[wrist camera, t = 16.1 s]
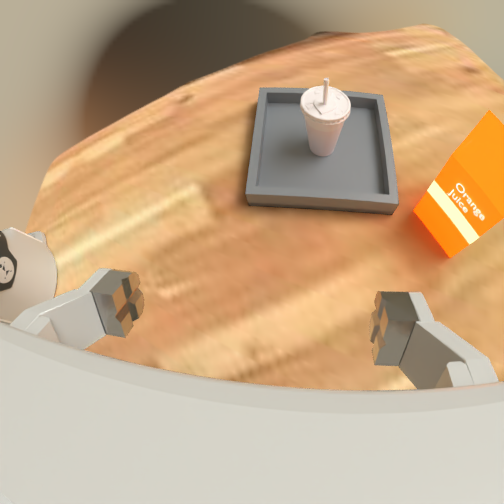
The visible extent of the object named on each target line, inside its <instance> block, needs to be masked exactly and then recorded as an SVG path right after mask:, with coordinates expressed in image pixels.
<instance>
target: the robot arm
mask: <svg viewBox="0 0 504 504" xmlns="http://www.w3.org/2000/svg"><path fill="white" fill-rule="evenodd" d="M56 284H57V268H56V263H55V259H54V257H53V254H52V253H51V251H50V250H49V248H48V247H47V243H46V237H45V234H44V233H43V232H40V231H37V232H33V233H29V234H26V233H23V232H21V231H19V230H17V229H15V228H12V227H10V228H9V229H5V230H2V231H0V504H504V381H501V382H499V380H498V378H497V376H496V374H495V371H494V369H493V367H492V365H491V362H490V360H489V358H487V357H486V356H485V355H483V354H482V353H481V352H479V351H478V350H477V349H475V348H474V347H473V346H471V345H470V344H469V343H467V342H466V341H465V340H463V339H462V338H461V337H459V336H458V335H457V334H455V333H454V332H452V331H451V330H450V329H448V328H447V327H446V326H444V325H443V324H441V323H440V322H435V320H434V318H433V316H432V314H431V311H430V309H429V307H428V305H427V302H426V300H425V298H424V296H423V294H422V293H421V292H384V291H378V292H377V294H376V298H375V307H376V310H375V311H374V312H372V314H371V319H370V326H369V336H370V341H371V342H372V343H373V344H374V345H373V348H372V354H373V360H374V365H384V366H399V368H400V369H401V370H402V371H403V373H404V374H405V375H406V376H407V377H408V378H409V380H410V381H411V382H412V383H413V384H414V385H415V387H416V388H417V389H416V390H377V391H371V390H329V389H310V388H296V387H283V386H272V385H263V384H254V383H245V382H237V381H230V380H222V379H215V378H209V377H203V376H196V375H191V374H185V373H179V372H174V371H169V370H164V369H159V368H154V367H149V366H145V365H140V364H136V363H132V362H127V361H123V360H119V359H115V358H111V357H107V356H103V355H100V354H96V353H92V352H89V351H85V350H84V349H86V348H87V347H89V346H90V345H92V344H93V343H95V342H96V341H98V340H99V339H101V338H102V337H104V336H105V335H106V334H108V335H113V336H118V337H124V338H126V336H127V335H128V333H129V332H130V330H131V329H132V327H133V322H132V321H134V320H136V319H138V318H139V317H140V316H141V314H142V312H143V308H144V297H143V293H142V292H141V291H140V290H139V288H138V286H139V285H140V279H139V276H138V274H137V273H136V272H131V271H123V270H115V269H108V268H100V269H98V270H97V271H96V272H95V273H94V274H93V275H92V276H91V277H90V278H89V279H88V280H87V281H86V282H85V283H84V284H83V285H82V286H81V287H80V288H79V289H78V290H75V289H74V290H72V291H69V292H67V293H64V294H62V295H59V296H57V297H54V294H55V290H56ZM53 297H54V298H53Z"/></svg>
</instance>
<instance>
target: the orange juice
mask: <svg viewBox="0 0 504 504" xmlns="http://www.w3.org/2000/svg"><path fill="white" fill-rule="evenodd" d="M413 211H414V212H415V213H416V215H417V216H418V217H419V218H420V220H421V221H422V222H423V223H424V225H425V226H426V227H427V228H428V230H429V231H430V232H431V233H432V235H433V236H434V237H435V239H436V240H437V241H438V243H439V244H440V245H441V247H442V248H443V249H444V251H445V252H446V253H447V255H448V256H449V258H451V257H453V256H454V255H455V254H457V253H458V252H460V251H461V250H462V249H464V248H465V247H466V246H468V245H470V244H471V243H472V242H474V241H475V240H476V239H478V238H479V237H480V236H481V235H482V234H484V233H485V232H486V231H488V230H489V229H490V228H491V227H493V226H494V225H495V224H497V223H498V222H499V221H500V220H502V219H503V218H504V125H503V124H502V123H501V122H500V120H499V119H498V118H497V117H496V116H495V115H494V114H493V113H492V112H491V111H490V110H489V111H488V112H487V113H486V114H485V116H484V117H483V118H482V119H481V121H480V122H479V123H478V124H477V126H476V127H475V128H474V129H473V130H472V132H471V133H470V134H469V135H468V136H467V138H466V139H465V140H464V141H463V142H462V143H461V145H460V146H459V147H458V148H457V149H456V150H455V152H454V153H453V154H452V155H451V157H450V158H449V160H448V161H447V163H446V164H445V166H444V167H443V169H442V170H441V172H440V173H439V175H438V176H437V178H436V179H435V180H434V181H433V183H432V184H431V186H430V187H429V188H428V190H427V192H426V193H425V195H424V196H423V198H422V199H421V200H420V202H419V203H418V204H417V206H416V207H415V209H414V210H413Z"/></svg>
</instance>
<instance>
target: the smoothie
mask: <svg viewBox="0 0 504 504" xmlns="http://www.w3.org/2000/svg"><path fill="white" fill-rule="evenodd" d="M350 107H351V103H350V100H349V98H348V97H347V96H346V95H345V94H344V93H343V92H342V91H340V90H338V89H336V88H333V87H329V79H328V78H324V86H316V87H312V88H310V89H308V90H307V91H305V92H304V93H303V95H302V96H301V103H300V108H301V111H302V113H303V115H304V118H305V123H306V129H307V135H308V141H309V147H310V150H311V151H312V152H313V153H314V154H315V155H317V156H322V157H324V156H328V155H330V154H332V152H333V151H334V148H335V146H336V143H337V140H338V138H339V135H340V132H341V129H342V127H343V124H344V121H345V120H346V119H347V118H348V116H349V114H350Z"/></svg>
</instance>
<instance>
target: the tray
mask: <svg viewBox="0 0 504 504" xmlns="http://www.w3.org/2000/svg"><path fill="white" fill-rule="evenodd" d="M307 90H308V88H260V90H259V97H258V105H257V112H256V119H255V126H254V133H253V141H252V148H251V155H250V163H249V170H248V178H247V185H246V193H245V194H246V198H247V201H248V204H249V206H265V207H286V208H304V209H320V210H335V211H349V212H362V213H374V214H386V215H392V214H393V213H394V211H395V209H396V208H397V206H398V205H399V200H398V189H397V180H396V172H395V164H394V156H393V150H392V143H391V137H390V131H389V125H388V119H387V114H386V109H385V103H384V99H383V95H378V94H370V93H361V92H351V91H342V92H343V93H344V94H345V95H346V96H347V97H348V98H349V100H350V103H351V107H350V114H349V116H348V118H347V119H346V120H345V121H344V124H343V127H342V129H341V132H340V135H339V138H338V140H337V143H336V146H335V148H334V151H333V152H332V154H330V155H328V156H324V157H322V156H317V155H315V154H314V153H313V152H312V151H311V150H310V147H309V141H308V135H307V129H306V123H305V118H304V115H303V113H302V111H301V108H300V103H301V96H302V95H303V93H304V92H305V91H307Z"/></svg>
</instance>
